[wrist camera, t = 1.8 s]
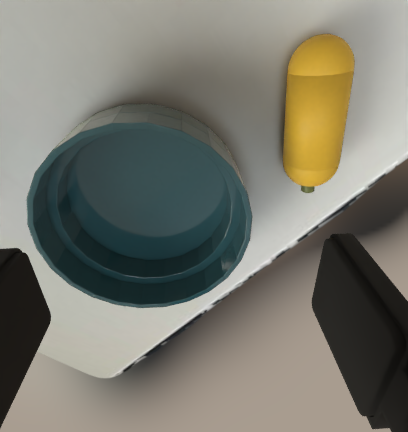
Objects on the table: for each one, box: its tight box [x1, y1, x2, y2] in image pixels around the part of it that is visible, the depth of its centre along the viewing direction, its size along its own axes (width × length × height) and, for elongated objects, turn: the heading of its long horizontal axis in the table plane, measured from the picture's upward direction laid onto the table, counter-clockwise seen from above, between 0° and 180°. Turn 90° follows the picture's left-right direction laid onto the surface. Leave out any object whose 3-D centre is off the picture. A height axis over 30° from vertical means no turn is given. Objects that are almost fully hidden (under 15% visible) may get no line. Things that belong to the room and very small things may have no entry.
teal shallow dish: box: [27, 104, 252, 308], centre depth 30 cm, size 19×19×6 cm
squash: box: [283, 34, 355, 193], centre depth 27 cm, size 13×5×5 cm, turn 5°
